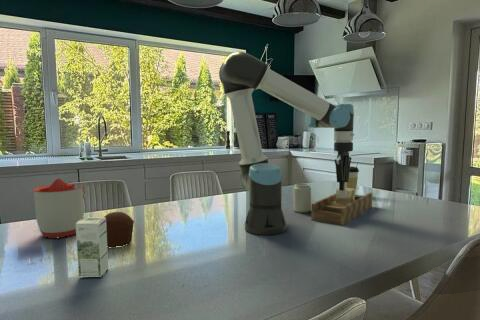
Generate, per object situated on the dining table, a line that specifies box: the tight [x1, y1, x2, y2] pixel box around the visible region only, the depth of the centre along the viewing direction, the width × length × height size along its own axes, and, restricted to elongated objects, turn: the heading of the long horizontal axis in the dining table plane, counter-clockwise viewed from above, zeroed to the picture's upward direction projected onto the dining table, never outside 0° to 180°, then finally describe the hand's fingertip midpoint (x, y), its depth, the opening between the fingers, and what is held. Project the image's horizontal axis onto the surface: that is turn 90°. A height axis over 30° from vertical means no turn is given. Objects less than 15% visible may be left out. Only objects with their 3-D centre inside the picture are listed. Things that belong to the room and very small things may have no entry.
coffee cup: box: [347, 166, 360, 192], centre depth 181 cm, size 10×10×15 cm
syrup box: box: [75, 216, 110, 277], centre depth 88 cm, size 6×6×14 cm
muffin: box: [103, 211, 135, 247], centre depth 111 cm, size 12×11×10 cm
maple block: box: [335, 188, 356, 205], centre depth 147 cm, size 6×6×6 cm
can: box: [293, 182, 312, 214], centre depth 150 cm, size 8×8×12 cm
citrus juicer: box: [32, 178, 88, 239], centre depth 122 cm, size 16×17×20 cm
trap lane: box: [311, 191, 373, 226], centre depth 146 cm, size 36×13×6 cm, turn 143°
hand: (342, 197), depth 144 cm, fingers closed
